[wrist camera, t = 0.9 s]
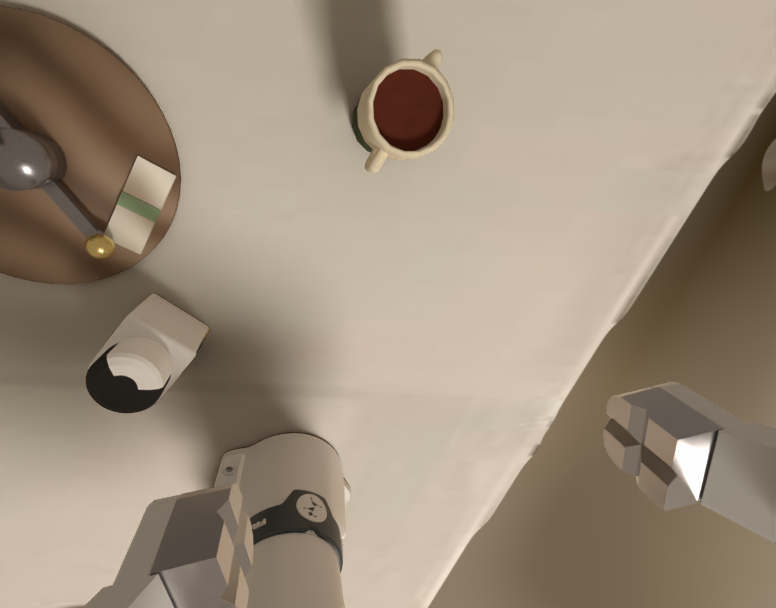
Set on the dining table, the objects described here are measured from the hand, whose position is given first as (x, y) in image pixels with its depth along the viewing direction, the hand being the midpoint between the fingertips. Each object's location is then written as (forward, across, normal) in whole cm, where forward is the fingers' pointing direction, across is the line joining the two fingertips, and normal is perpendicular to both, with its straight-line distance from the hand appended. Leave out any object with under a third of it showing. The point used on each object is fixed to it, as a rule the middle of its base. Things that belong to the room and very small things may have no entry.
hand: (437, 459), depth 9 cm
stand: (+39, -26, +8) cm, 48 cm away
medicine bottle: (+39, -20, -11) cm, 46 cm away
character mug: (+40, +7, +8) cm, 41 cm away
